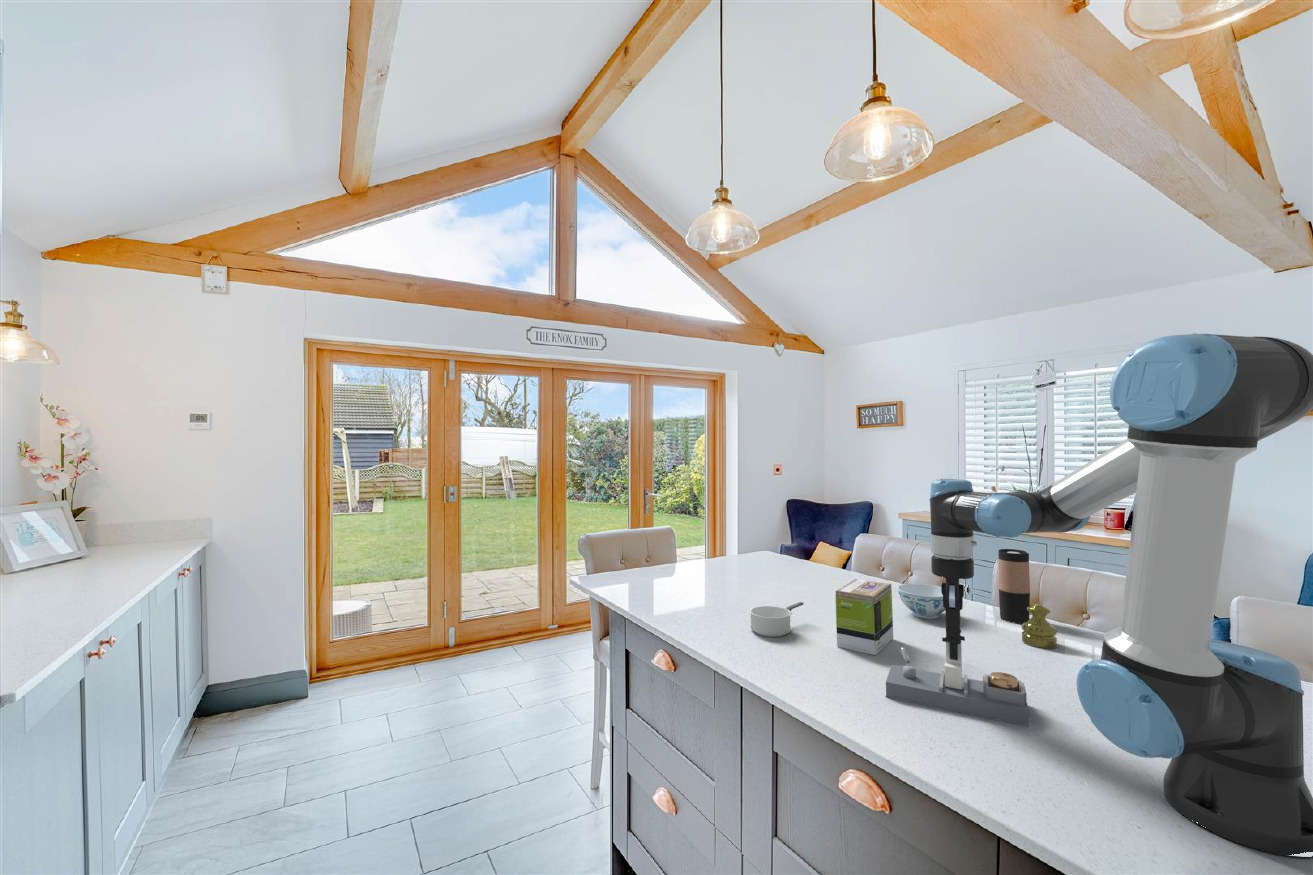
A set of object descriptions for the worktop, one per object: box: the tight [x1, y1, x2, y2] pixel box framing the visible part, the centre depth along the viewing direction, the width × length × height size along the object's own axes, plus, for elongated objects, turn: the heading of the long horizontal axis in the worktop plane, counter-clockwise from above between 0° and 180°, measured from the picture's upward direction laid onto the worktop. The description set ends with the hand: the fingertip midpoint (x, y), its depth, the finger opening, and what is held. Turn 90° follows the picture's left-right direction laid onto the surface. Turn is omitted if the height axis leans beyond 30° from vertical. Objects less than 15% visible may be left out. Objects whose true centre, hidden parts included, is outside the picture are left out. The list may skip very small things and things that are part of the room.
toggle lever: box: [900, 647, 911, 665], centre depth 113 cm, size 1×1×3 cm
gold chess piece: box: [1021, 603, 1058, 649], centre depth 139 cm, size 7×7×10 cm
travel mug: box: [998, 548, 1031, 624], centre depth 159 cm, size 8×8×20 cm
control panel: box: [885, 664, 1030, 727], centre depth 108 cm, size 10×24×5 cm, turn 60°
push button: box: [989, 671, 1018, 692], centre depth 104 cm, size 4×4×2 cm
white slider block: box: [943, 662, 963, 689], centre depth 107 cm, size 2×3×4 cm, turn 60°
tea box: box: [835, 578, 894, 656], centre depth 140 cm, size 15×10×15 cm, turn 141°
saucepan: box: [748, 601, 805, 638], centre depth 152 cm, size 12×20×6 cm, turn 128°
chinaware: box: [897, 583, 945, 620], centre depth 163 cm, size 15×15×8 cm
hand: (954, 673), depth 109 cm, fingers closed
